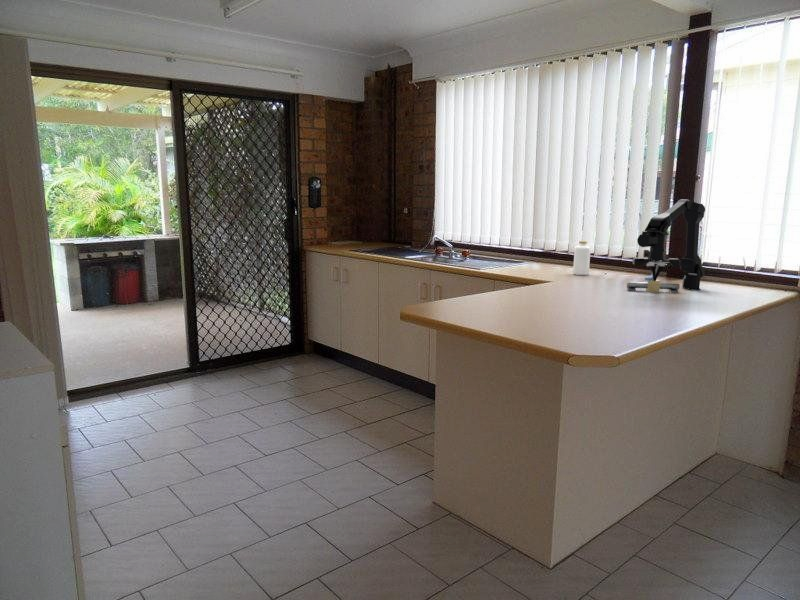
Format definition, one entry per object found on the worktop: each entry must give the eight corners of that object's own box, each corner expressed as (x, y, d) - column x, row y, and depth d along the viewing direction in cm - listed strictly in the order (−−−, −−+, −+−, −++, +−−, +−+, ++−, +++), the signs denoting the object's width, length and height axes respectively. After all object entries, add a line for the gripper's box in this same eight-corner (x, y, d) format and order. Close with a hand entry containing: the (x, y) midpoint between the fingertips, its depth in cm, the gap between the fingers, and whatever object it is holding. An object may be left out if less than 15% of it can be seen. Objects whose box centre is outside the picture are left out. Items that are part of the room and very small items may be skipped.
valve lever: (650, 276, 261) (651, 274, 261) (657, 277, 259) (658, 274, 259) (644, 280, 251) (644, 277, 251) (651, 281, 249) (651, 278, 249)
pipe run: (677, 291, 260) (678, 278, 259) (679, 293, 255) (680, 279, 254) (626, 289, 265) (627, 276, 264) (627, 291, 260) (628, 277, 259)
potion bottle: (586, 273, 313) (589, 240, 309) (590, 275, 304) (592, 242, 301) (571, 273, 313) (573, 240, 310) (574, 275, 305) (576, 242, 302)
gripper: (676, 244, 253) (673, 278, 256) (631, 243, 258) (629, 277, 261) (682, 246, 243) (678, 282, 246) (635, 246, 247) (633, 281, 250)
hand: (654, 281), depth 251 cm, fingers closed
